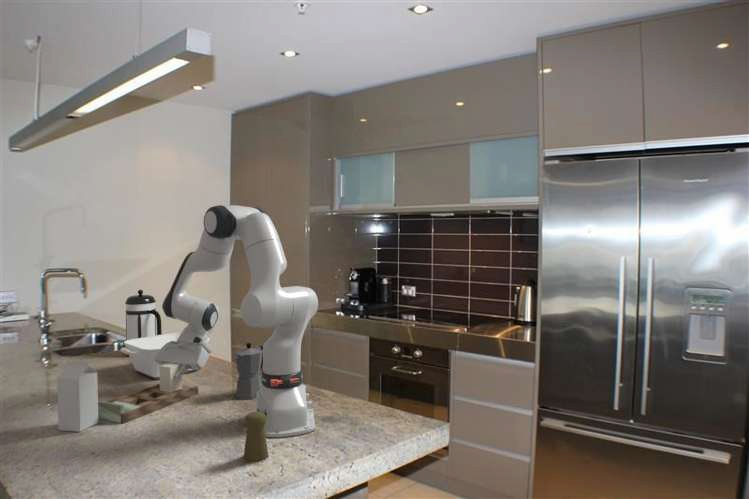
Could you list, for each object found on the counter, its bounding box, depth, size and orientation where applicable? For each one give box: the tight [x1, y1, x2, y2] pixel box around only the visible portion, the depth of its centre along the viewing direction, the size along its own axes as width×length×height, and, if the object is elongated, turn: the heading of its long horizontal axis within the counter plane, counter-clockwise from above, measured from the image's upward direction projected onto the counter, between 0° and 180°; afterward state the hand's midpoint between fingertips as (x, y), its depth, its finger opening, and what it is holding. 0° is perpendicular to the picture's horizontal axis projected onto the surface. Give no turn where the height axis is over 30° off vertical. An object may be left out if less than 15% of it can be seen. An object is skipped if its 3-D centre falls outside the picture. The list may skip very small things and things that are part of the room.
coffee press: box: [123, 289, 163, 357], centre depth 234 cm, size 17×16×30 cm
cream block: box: [159, 363, 183, 393], centre depth 174 cm, size 5×5×8 cm
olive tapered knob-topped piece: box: [243, 411, 269, 463], centre depth 125 cm, size 6×6×11 cm
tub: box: [119, 331, 211, 381], centre depth 204 cm, size 34×27×13 cm
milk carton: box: [56, 360, 99, 433], centre depth 146 cm, size 7×7×19 cm
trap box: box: [98, 383, 199, 424], centre depth 165 cm, size 30×15×5 cm, turn 155°
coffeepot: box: [234, 342, 264, 400], centre depth 174 cm, size 15×9×18 cm, turn 157°
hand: (169, 377), depth 173 cm, fingers closed on cream block, 5 cm apart
